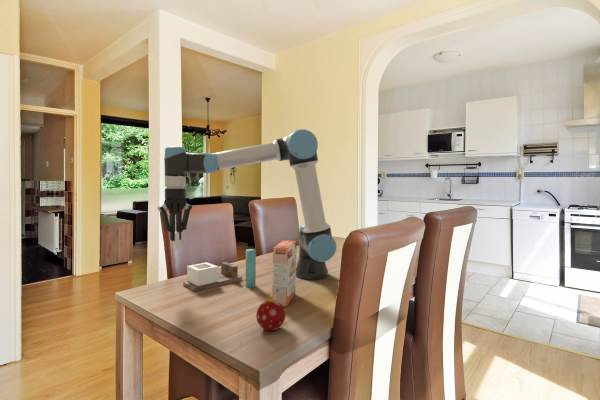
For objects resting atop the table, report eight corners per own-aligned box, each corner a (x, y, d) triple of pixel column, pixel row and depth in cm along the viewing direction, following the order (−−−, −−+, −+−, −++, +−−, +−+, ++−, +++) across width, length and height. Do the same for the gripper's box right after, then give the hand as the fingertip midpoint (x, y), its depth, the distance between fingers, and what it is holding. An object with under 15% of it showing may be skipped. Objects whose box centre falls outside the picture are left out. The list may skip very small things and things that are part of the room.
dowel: (257, 286, 141) (257, 250, 140) (249, 288, 138) (249, 251, 137) (251, 283, 144) (251, 248, 143) (243, 285, 141) (243, 250, 140)
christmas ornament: (265, 338, 96) (265, 303, 95) (251, 327, 103) (251, 294, 102) (290, 330, 101) (291, 297, 100) (275, 320, 108) (275, 289, 107)
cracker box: (288, 307, 119) (288, 248, 117) (271, 306, 120) (271, 247, 118) (296, 294, 132) (297, 240, 131) (281, 292, 134) (282, 239, 132)
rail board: (242, 280, 149) (242, 265, 148) (195, 291, 133) (194, 275, 133) (229, 275, 156) (229, 261, 155) (183, 285, 141) (183, 270, 140)
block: (218, 281, 141) (218, 266, 141) (197, 286, 135) (197, 270, 134) (207, 276, 147) (206, 262, 147) (187, 281, 141) (187, 266, 141)
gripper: (186, 187, 138) (187, 245, 139) (154, 187, 129) (154, 249, 130) (195, 187, 132) (196, 248, 134) (162, 188, 123) (163, 252, 125)
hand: (175, 248), depth 132 cm, fingers closed
